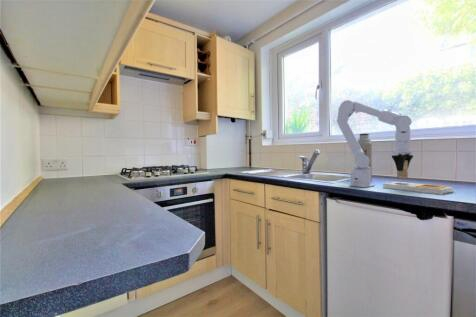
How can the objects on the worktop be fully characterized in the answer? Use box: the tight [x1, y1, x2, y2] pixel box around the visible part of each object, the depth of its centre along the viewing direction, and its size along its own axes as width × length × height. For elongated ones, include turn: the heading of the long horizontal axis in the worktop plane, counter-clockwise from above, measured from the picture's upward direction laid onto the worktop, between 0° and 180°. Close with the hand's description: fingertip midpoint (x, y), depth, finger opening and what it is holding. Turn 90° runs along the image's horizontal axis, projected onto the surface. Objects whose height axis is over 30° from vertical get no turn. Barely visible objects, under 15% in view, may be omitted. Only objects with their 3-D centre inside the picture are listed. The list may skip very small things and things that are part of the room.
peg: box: [396, 160, 409, 179], centre depth 109 cm, size 4×4×8 cm
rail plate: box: [382, 181, 454, 196], centre depth 104 cm, size 12×22×2 cm, turn 31°
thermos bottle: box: [357, 133, 373, 180], centre depth 139 cm, size 8×8×28 cm
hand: (402, 170), depth 109 cm, fingers closed on peg, 4 cm apart
